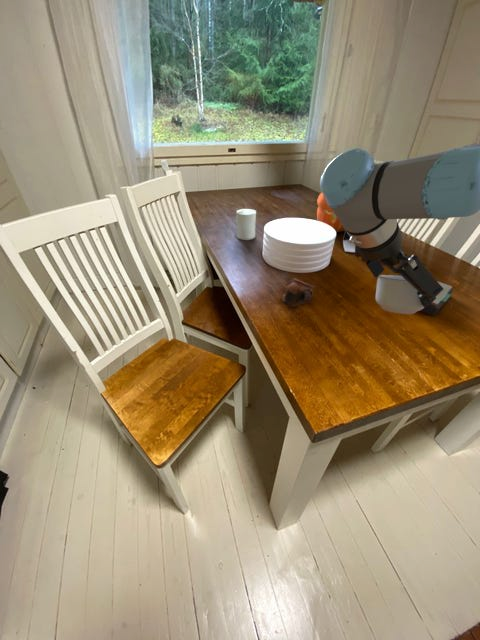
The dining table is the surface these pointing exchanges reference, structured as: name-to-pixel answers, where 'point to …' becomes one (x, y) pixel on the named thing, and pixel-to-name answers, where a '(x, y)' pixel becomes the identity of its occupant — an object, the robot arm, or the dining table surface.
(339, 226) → the pumpkin
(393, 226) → the robot arm
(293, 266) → the plate stack
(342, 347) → the dining table surface
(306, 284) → the pottery mug
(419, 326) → the dining table surface
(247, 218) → the can
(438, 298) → the scale
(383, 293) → the teacup
